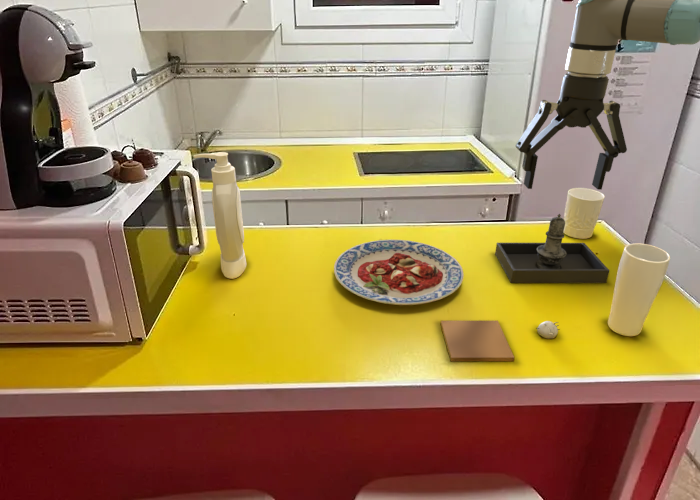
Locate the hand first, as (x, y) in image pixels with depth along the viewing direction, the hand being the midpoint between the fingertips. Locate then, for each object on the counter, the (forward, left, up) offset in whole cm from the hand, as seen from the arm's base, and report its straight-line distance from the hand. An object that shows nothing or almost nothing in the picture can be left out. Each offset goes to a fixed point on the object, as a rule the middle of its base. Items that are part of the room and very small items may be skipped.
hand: (562, 186), depth 102 cm
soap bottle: (+67, +1, -18) cm, 69 cm away
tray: (0, +1, -18) cm, 18 cm away
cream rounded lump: (+8, +24, -18) cm, 31 cm away
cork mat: (+21, +26, -18) cm, 38 cm away
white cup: (-13, -16, -18) cm, 27 cm away
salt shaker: (0, +1, -17) cm, 17 cm away
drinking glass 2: (-6, +23, -18) cm, 29 cm away
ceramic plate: (+32, +5, -18) cm, 37 cm away
